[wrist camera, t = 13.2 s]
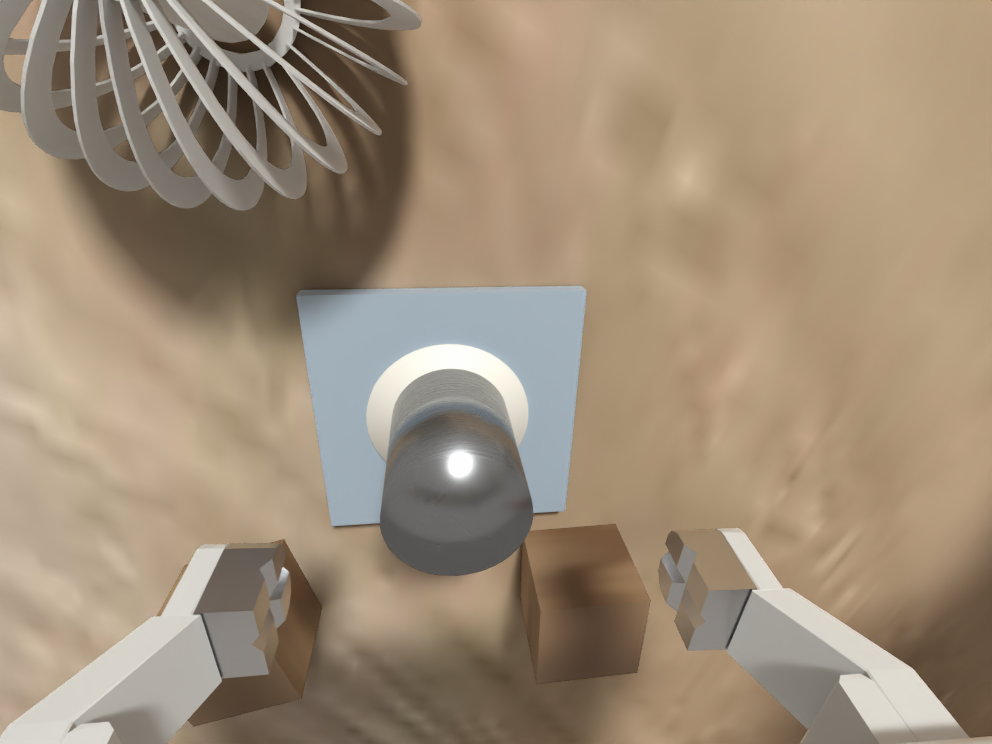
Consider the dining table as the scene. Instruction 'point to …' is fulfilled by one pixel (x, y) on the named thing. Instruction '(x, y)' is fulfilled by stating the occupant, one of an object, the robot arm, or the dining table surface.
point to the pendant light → (177, 90)
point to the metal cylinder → (453, 477)
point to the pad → (434, 346)
